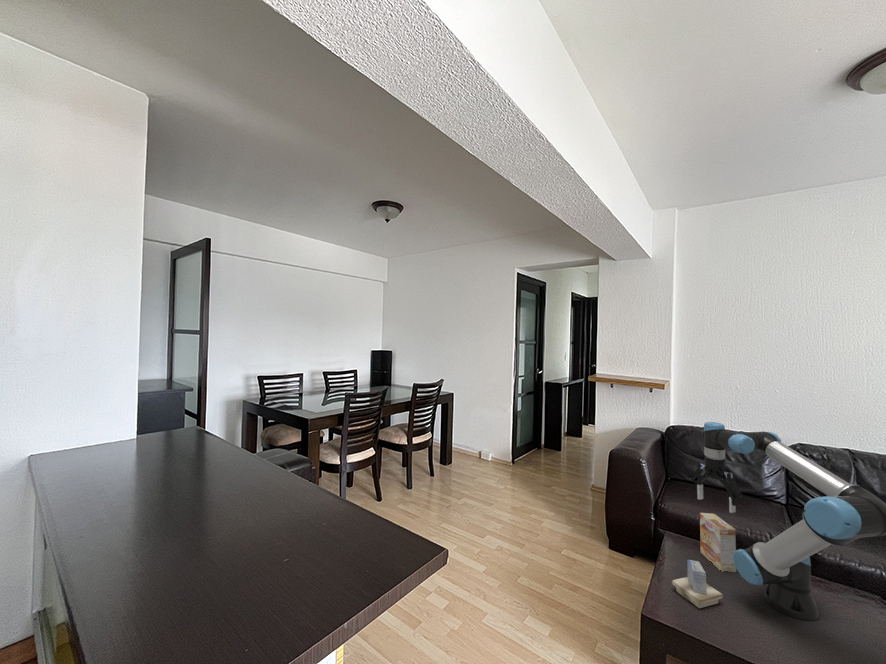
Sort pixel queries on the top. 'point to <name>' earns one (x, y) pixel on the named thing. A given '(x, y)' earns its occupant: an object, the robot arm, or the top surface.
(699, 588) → the medicine box
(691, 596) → the stand
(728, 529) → the coffeecake box
